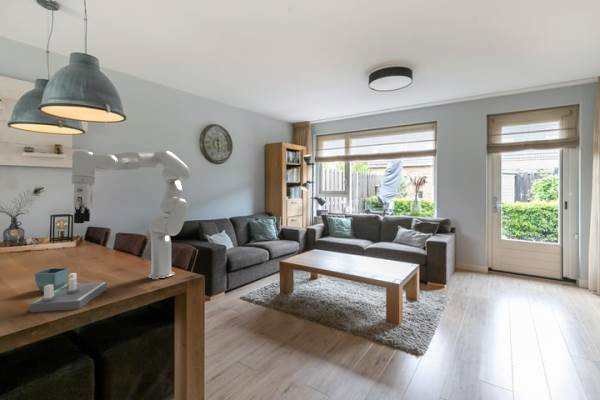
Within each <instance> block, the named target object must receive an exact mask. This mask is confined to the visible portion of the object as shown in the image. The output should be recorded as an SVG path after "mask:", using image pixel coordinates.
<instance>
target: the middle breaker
mask: <svg viewBox="0 0 600 400" xmlns="http://www.w3.org/2000/svg"><path fill="white" fill-rule="evenodd" d="M77 278H78V277H77ZM77 278H71V279H69V278H68V284H69V290H67V291H66V293H75V292H76V291H78V290H79V288H77V282H78V279H77Z"/></svg>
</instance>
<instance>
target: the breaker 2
mask: <svg viewBox="0 0 600 400" xmlns="http://www.w3.org/2000/svg"><path fill="white" fill-rule="evenodd" d="M77 275H78V273H77V272H72V273H69V274H68V280H69V279H71V278H78V276H77ZM67 284H68V285H67ZM67 284H66V285H67V287H69V283H67ZM78 284H80V282H78V281H77V285H78Z"/></svg>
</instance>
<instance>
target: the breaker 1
mask: <svg viewBox="0 0 600 400" xmlns="http://www.w3.org/2000/svg"><path fill="white" fill-rule="evenodd" d="M43 297H44V298H42V297H41V298H42V299H41V301H50V300H52V299H54V298H56V295H54V284H53V285H47V286H44V292H43Z"/></svg>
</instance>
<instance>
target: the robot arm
mask: <svg viewBox="0 0 600 400" xmlns="http://www.w3.org/2000/svg"><path fill="white" fill-rule="evenodd" d="M71 159H72V160H71V161H72V162H71V185H74V187H73V207H74V210H73V211H74V213H73V223H74V224H84V223H85V222H90V221H91V220H90V219H91V217H90V216H91V212H90V211H91V209H92V208H93V206H94V198H93V192H94V190H93V186H94V185H95V177H96V176H95V175H96V174H95V173H96V172H109V171H117V170H118V171H122V170H123V171H125V170H127V171H134V170H135V171H137V170H147V169H159V168H162V172H161V175H162V178H163V180H164V181H165V185H166V189H165V192H164V195H163V197H162V200H161V202H160V204H159V207H158V208H159V212H160V213H161V214H163V215H166V216H155V217H153V218H152V219H151V220H150V222H149V224H148V231H149V234H150V250H151V251H150V253H151V254H150V256H151V257H150V258H151V259H150V260H151V262H150V263H151V265H150V266H151V267H150V273H149V274H148V275H147V278H148V277H149V278H148V279H150V278H152V279H151V280H160V279H159V278H165V277H169V276H172V275H174V276H175V271H173V270H172V239H171V236H172V237H174V236H177V235H178V234H179V233H180V232H181V230H182V228H183V226H184V223H185V221H186V218H187V215H188V212H189V204H188V202H187V200H185V199H184V198H182V196H183V193H184V192H183V191H184V190H183V185H182V183H181V182H184V181H186V180H189V178H190V176H191V170H190V168H189V166H187V165H186V164H185V163H184V162H183V161H182V160H181V159H180V158H179V157H177V156H176V155H175V154H174V153H173V152H171V151H169V150H158V151H157V150H156V151H127V152H122V153H111V154H110V153H104V152H103V153H102V152H92V151H88V150H75V151H73V152H72V157H71ZM172 277H173V276H172ZM169 278H170V277H169ZM165 279H166V278H165Z"/></svg>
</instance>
